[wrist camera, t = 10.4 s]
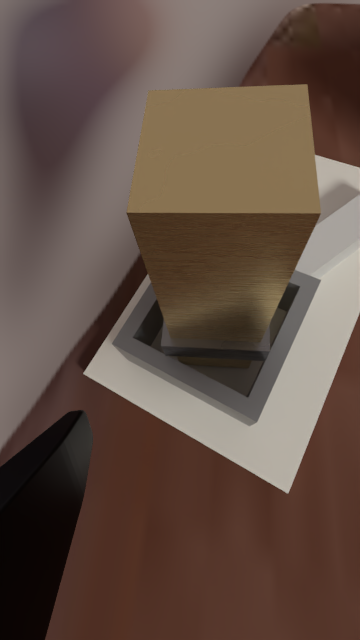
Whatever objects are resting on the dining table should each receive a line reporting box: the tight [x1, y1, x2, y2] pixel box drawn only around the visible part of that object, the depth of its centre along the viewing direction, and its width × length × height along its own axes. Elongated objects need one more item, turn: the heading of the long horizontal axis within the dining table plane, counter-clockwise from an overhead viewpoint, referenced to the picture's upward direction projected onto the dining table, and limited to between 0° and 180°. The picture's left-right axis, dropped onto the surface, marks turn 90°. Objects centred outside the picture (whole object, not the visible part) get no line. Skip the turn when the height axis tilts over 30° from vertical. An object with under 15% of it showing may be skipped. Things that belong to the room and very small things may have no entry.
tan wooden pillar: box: [127, 84, 321, 368], centre depth 13 cm, size 5×5×13 cm
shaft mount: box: [83, 155, 360, 493], centre depth 20 cm, size 13×22×4 cm, turn 151°
